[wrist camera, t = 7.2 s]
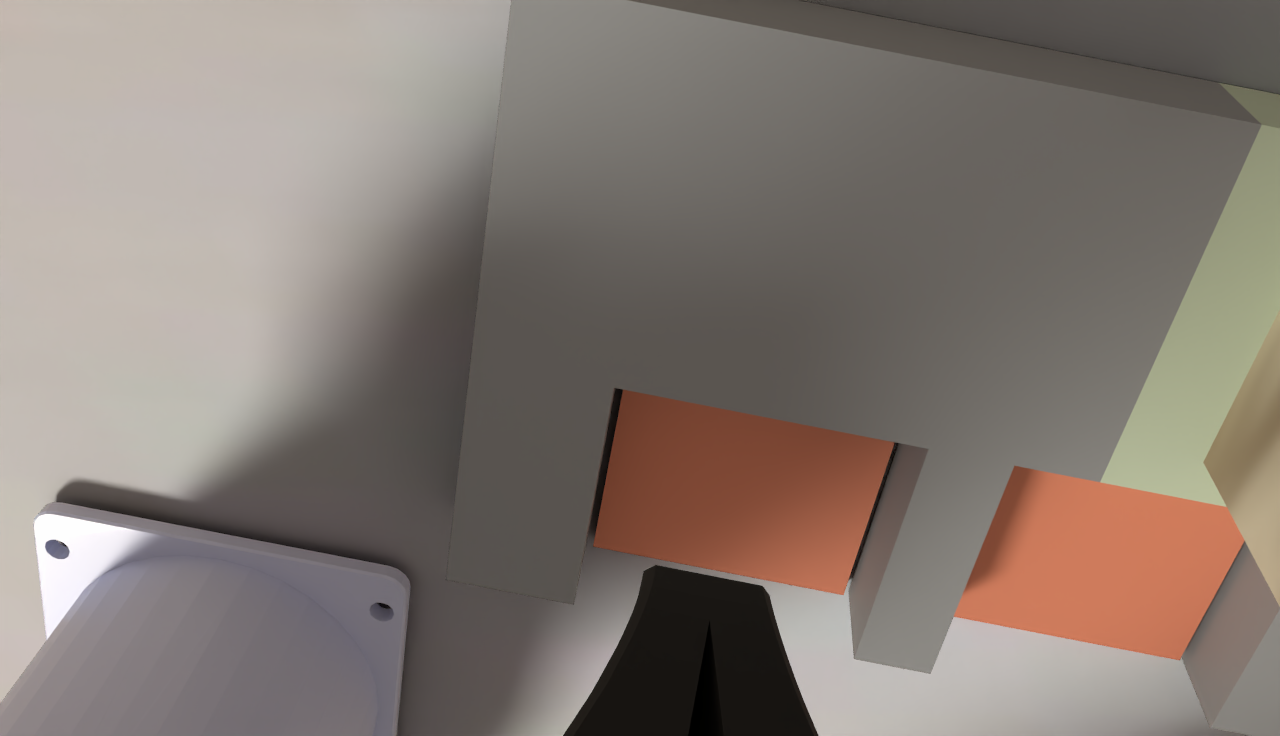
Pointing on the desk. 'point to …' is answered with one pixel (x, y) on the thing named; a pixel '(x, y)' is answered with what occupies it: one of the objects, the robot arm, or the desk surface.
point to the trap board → (875, 327)
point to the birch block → (1254, 459)
